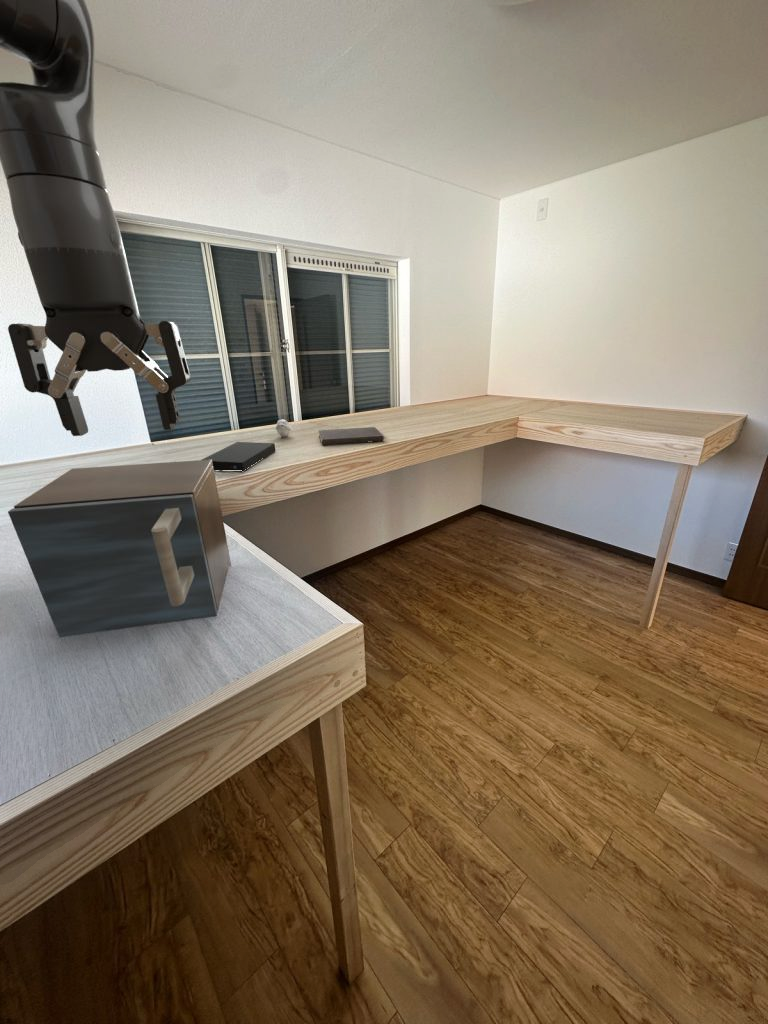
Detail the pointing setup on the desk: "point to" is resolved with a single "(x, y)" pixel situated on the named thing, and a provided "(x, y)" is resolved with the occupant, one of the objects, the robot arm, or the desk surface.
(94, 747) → the desk surface
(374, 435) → the hardcover book
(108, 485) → the cupboard
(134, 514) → the door
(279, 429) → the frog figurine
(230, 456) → the external hard drive
